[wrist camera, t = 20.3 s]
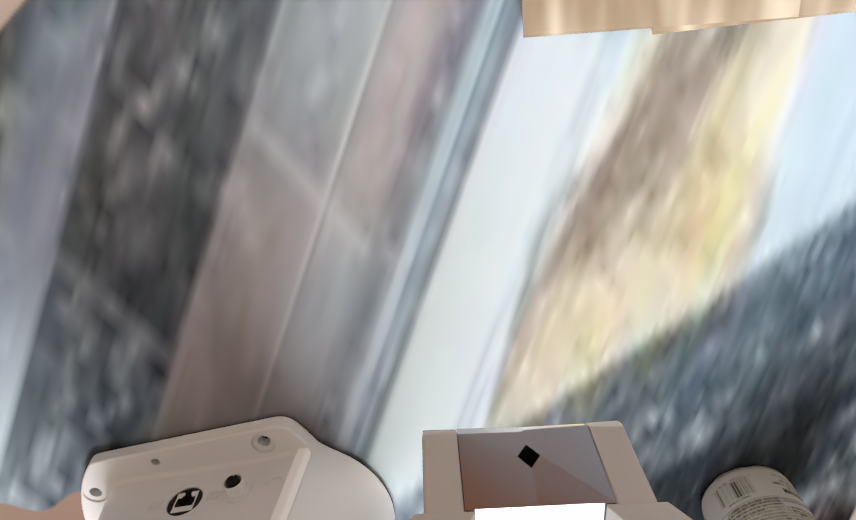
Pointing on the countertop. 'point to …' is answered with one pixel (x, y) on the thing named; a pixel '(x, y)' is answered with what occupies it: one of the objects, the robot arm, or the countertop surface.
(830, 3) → the domino
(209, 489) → the robot arm
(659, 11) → the domino
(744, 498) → the spray can
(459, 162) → the countertop surface
